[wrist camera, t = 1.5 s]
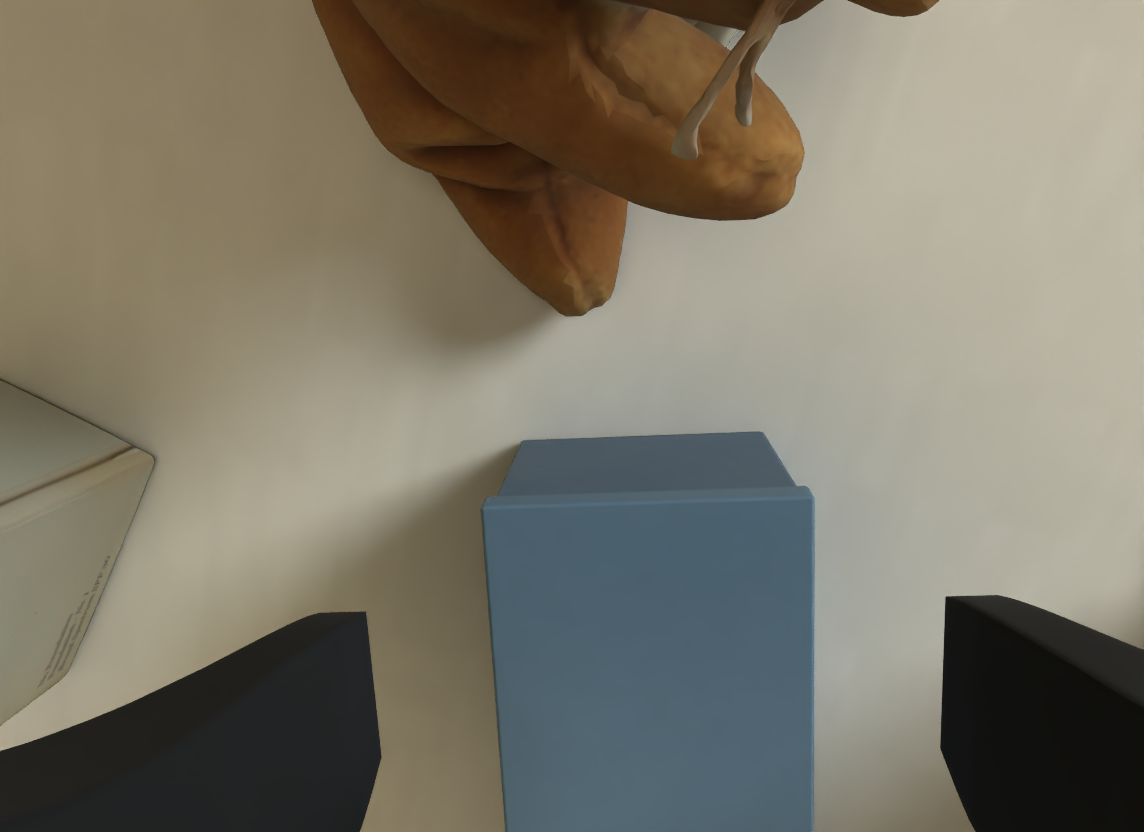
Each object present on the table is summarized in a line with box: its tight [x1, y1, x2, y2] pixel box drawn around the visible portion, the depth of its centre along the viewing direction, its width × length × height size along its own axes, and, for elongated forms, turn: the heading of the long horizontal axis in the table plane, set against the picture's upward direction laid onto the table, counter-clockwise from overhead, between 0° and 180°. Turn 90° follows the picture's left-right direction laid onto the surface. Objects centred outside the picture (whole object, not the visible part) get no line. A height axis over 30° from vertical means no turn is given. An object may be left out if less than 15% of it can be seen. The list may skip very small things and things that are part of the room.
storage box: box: [481, 432, 815, 832], centre depth 19 cm, size 5×14×5 cm, turn 3°
